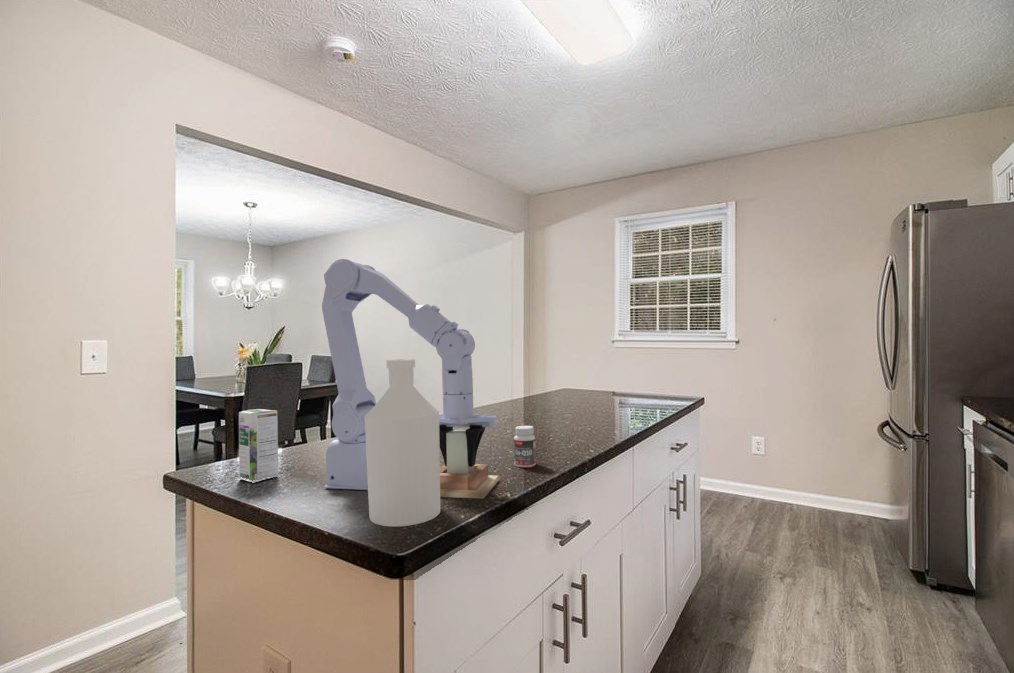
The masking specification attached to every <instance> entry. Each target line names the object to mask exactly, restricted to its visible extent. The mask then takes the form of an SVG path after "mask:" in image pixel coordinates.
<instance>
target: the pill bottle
mask: <svg viewBox="0 0 1014 673" xmlns="http://www.w3.org/2000/svg"><path fill="white" fill-rule="evenodd" d="M534 430H535V428H534V426H533V425H519V426H518V425H517V426H516V427H515V436H514V437H513V447H514V448H513V453H514V454H513V455H514V456H513V458H514V466H516V467H517V468H532V467H535V466H536V464H537V458H536V457H537V455H536V452H537V451H536V449H537V448H536V436H535V435H534V433H535V431H534Z"/></svg>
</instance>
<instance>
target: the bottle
mask: <svg viewBox="0 0 1014 673" xmlns="http://www.w3.org/2000/svg"><path fill="white" fill-rule="evenodd" d="M414 368H416V359H415V358H406V359H405V358H404V359H386V369H388V379H389V380H388V382H389V387H388V389H387V391H385V392H384V394H383V395H382V396H381V398H379V400H378V401H377V402H376V405H375V406H374V407H373V408H372V409H371V410H370V411H369V412H368V413H367V414H366V415H365V435H366V457H367V478H368V490H367V496H368V499H367V500H368V514H369V515H368V516H369V518H368V519H369V520H370V522H371V523H373V524H376V525H379V526H383V527H407V526H412V525H415V526H416V525H418V524H419V525H420V524H422V523H426V522H428V521H430V520H433V519H435V518H437V517H438V515H439V514H440V513H441V497H440V468H441V460H440V459H441V456H440V455H441V454H440V453H441V452H440V451H441V450H440V442H439V415H440V412H439V410H438V409H437V408H436V407H434V405H433V404H431V403H430V402H429V401H428V400H427V399H426V398H425V397H424V395H423V394H421V393H420V391H419V390H418V389H417V388H416V387H415V386H414Z"/></svg>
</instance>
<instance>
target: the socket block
mask: <svg viewBox="0 0 1014 673" xmlns="http://www.w3.org/2000/svg"><path fill="white" fill-rule="evenodd" d="M498 482H500V480H499V475H494V474H493V475H492V474H490V475H489V464H488V463H487V464H486V463H475V465H474V471H473V472H472V473H470V474H457V473H447V466H445V464H443V465H441V466H440V498H457V499H458V498H460V499H480V500H481V499H485V498H486V497H487V495H488V494H489V493H490V491H491V490H492V489H493V488H494V487H495V486H496V485H497V483H498Z"/></svg>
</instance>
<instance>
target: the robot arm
mask: <svg viewBox="0 0 1014 673" xmlns="http://www.w3.org/2000/svg"><path fill="white" fill-rule="evenodd" d="M323 277H324V278H323V279H324V283H325V284H324V285H325V288H324V291H323V292H324V293H323V298H322V303H321V310H322V315H323V321H324V325H325V330H326V337H327V342H328V346H329V350H330V351H329V352H330V357H331V362H332V367H333V371H334V377H335V381H336V382H335V383H336V387H337V391H338V392H337V393H338V395H337V396H336V397H335V400H334V401H333V404H332V405H331V407H332V412H333V414H332V415H333V416H332V419H331V428H332V429H331V430H332V433H333V434H334V436H335V437H336V438H337V439H332V441H330V443H329V444H328V446H327V449H326V453H325V467H326V468H325V470H326V484H325V485H324V489H333V490H334V489H335V490H337V489H338V490H339V489H341V490H356V491H357V490H360V491H362V490H363V491H368V478H367V457H366V435H365V415H366V414H367V413H368V412H369V411H370V410H371V409H372V408H373V407H374V406H375V405H376V404H377V402H376V398H375V395H374V394H373V393H372V392H371V391H370V390H369V389H368V387H367V383H366V378H365V373H364V368H363V363H362V358H361V354H360V348H359V343H358V338H357V333H356V327H355V323H354V317H353V311H354V310H355V309H356V308H357V306H358V305H359V304H360V303H361V302H363V301H364V300H365V299H367V298H368V297H370V296H371V295H375V296H378V297H379V298H381V299H382V300H383V301H385V302H386V303H387V304H389V305H390V306H391V307H393V308H394V309H396V310H397V311H398V312H400V313H401V314H402V315H404V316H405V317H407V319H408V325H409V328H410V329H412V330H413V332H415V333H417V335H419V336H420V337H421V338H423V339H424V340H425V341H426V342H428V343H429V344H430V345H431V346H433V348H436V352H437V354H438V355H439V357H440V358H441V378H442V380H441V381H442V384H441V385H442V386H441V387H442V414H439V442H440V451H441V452H440V453H441V454H442V455H441V456H442V458H443V463H444V465H445V466H447V446H446V433H448V432H450V431H451V430H454V429H453V428H454V427H455V428H457V427H458V428H459V427H462V428H463V427H464V428H467V429H464V430H465V433H466V438H467V445H468V466H469V467H472V466H474V465H475V464H476V459H477V458H476V457H477V453H478V449H479V446H480V443H481V441H482V437H483V434H484V433H485V431H486V428H491V429H495V428H496V427H498V416H497V415H484V414H475V413H474V386H473V385H474V383H473V382H474V381H473V380H474V379H473V378H474V377H473V365H472V362H473V359H472V355H473V353H474V351H475V348H476V342H475V338H474V337H473V336H472V334H471V333H470V331H469V330H467V329H463V328H462V329H461V328H459V327H458V326H459V324H458V323H457V322H456V321H451V320H449V319H448V318H447V317H446V316H444V315H443V314H442V313H441V312H440V310H441V308H439V307H438V306H437V305H434V304H433V305H431V304H429V303H426V304H419V303H418V302H416V301H415V300H414V299H413V298H412V297H411V296H410V295H408V294H407V293H406V292H405V291H404V290H403V289H401V288H400V287H399V286H398V285H397V284H396V283H395V282H393V281H392V280H391V279H390V278H389V277H387V276H386V275H385V274H384V273H382V272H380V271H378V270H376V269H375V267H373V266H371V265H368V264H362V263H358V262H355V261H351V260H349V259H347V258H339V259H337V260H335V261H334V262H333V263H331V265H330V266H329V267H328V269H327V270H326V272H325V273H324V274H323ZM458 328H459V329H458Z"/></svg>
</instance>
